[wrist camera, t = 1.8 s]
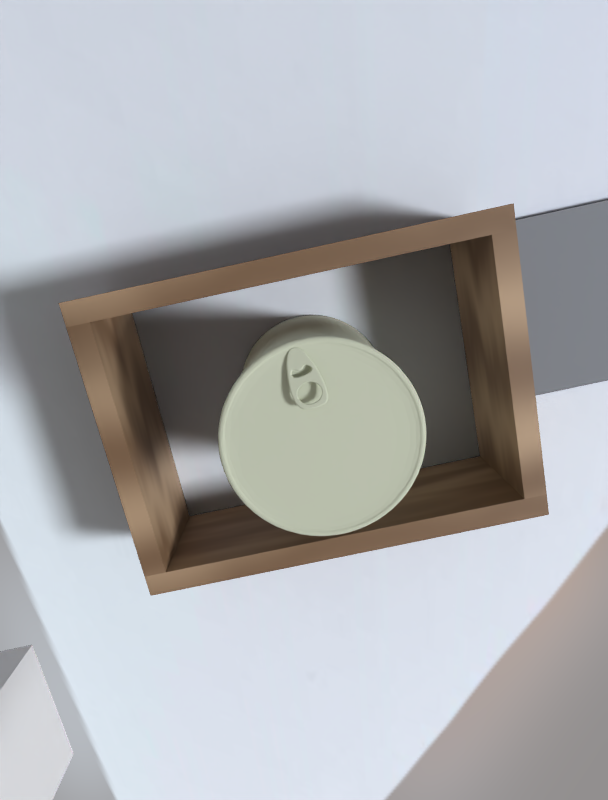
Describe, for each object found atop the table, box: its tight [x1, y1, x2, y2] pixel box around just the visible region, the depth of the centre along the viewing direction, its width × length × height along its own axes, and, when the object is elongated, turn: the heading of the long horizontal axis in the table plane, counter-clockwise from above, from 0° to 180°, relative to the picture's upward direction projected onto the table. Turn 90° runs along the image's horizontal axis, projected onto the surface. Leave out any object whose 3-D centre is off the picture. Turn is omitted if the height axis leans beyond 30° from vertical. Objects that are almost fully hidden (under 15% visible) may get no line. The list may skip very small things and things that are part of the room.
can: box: [218, 315, 426, 536], centre depth 28 cm, size 9×9×12 cm
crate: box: [59, 203, 549, 595], centre depth 31 cm, size 16×22×7 cm
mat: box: [516, 200, 608, 395], centre depth 33 cm, size 11×11×1 cm
